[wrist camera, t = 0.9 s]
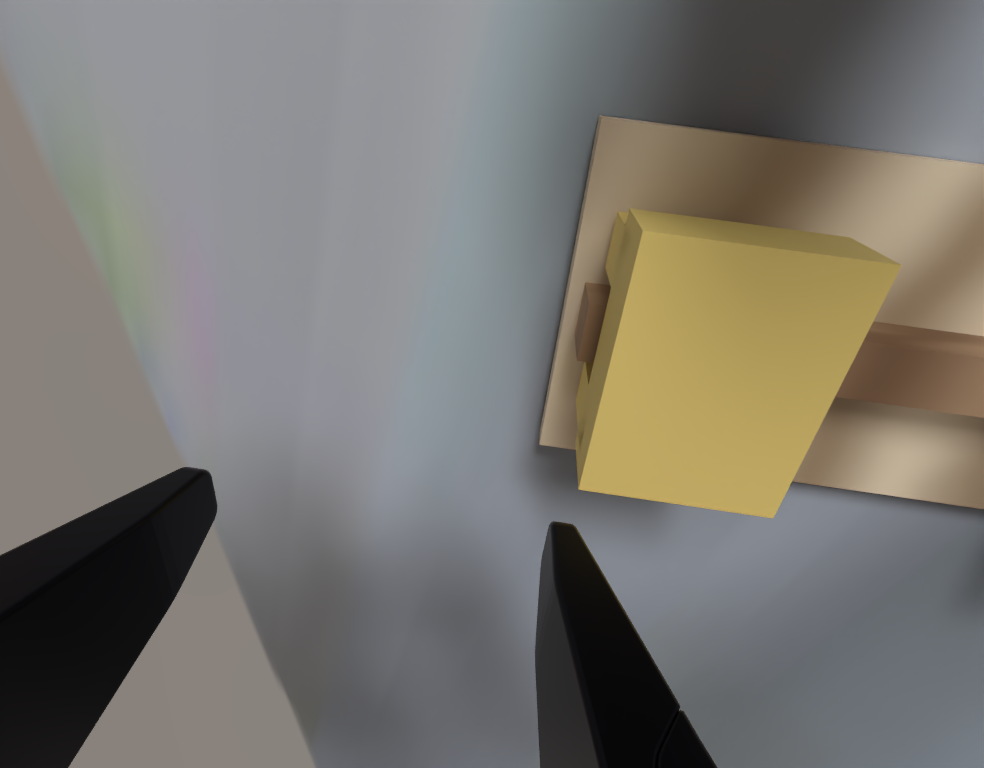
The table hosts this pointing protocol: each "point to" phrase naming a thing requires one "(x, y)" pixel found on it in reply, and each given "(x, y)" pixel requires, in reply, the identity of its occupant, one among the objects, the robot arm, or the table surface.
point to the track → (835, 211)
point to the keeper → (719, 357)
